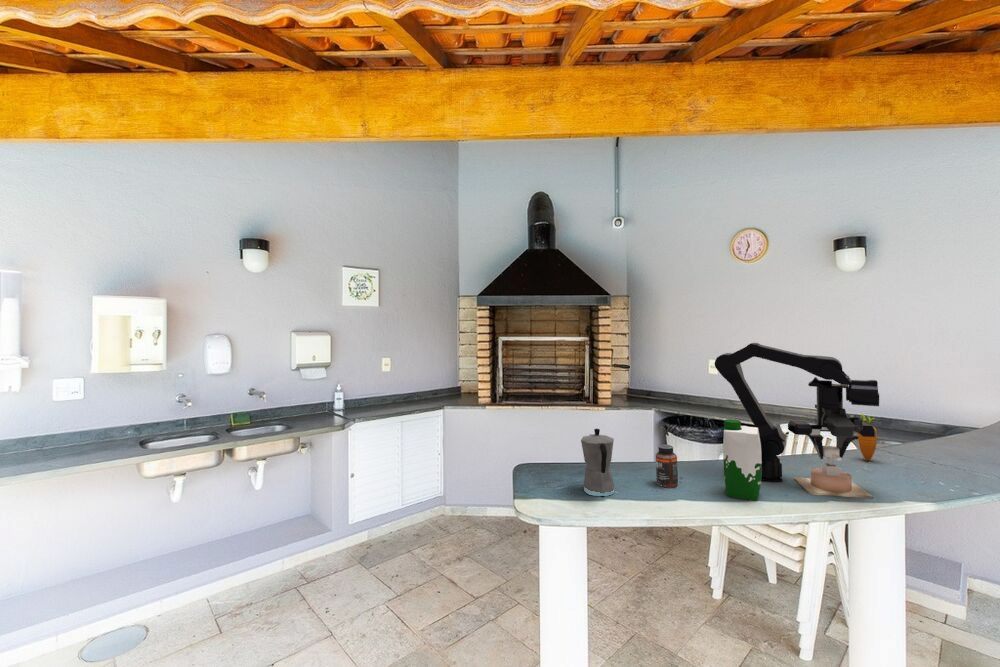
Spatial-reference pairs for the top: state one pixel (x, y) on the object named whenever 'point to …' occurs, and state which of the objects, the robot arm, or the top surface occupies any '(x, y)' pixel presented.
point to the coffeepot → (598, 462)
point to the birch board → (813, 490)
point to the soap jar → (831, 479)
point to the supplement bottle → (666, 466)
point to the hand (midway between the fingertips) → (830, 459)
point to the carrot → (867, 441)
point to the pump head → (831, 454)
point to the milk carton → (742, 460)
